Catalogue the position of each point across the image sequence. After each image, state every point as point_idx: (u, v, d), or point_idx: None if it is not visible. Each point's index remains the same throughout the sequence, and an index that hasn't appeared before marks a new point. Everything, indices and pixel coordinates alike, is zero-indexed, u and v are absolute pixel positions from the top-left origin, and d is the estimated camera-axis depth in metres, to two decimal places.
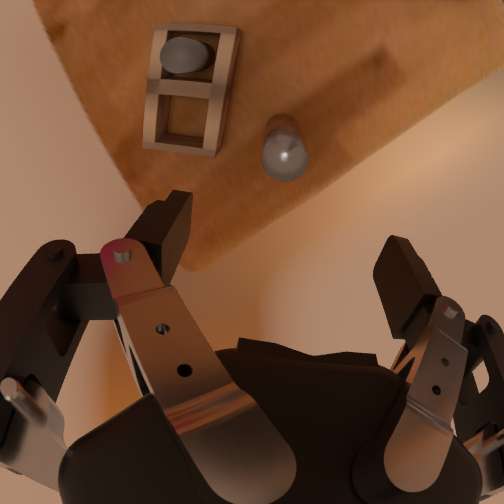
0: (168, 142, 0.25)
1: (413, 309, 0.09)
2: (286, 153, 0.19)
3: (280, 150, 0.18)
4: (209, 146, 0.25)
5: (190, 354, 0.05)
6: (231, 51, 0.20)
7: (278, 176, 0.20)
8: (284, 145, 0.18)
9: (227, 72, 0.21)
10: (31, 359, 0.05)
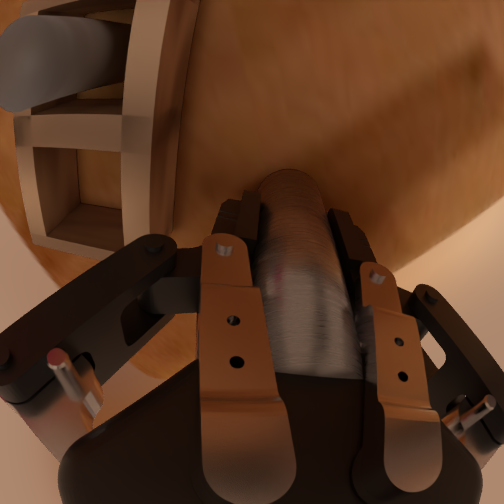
0: (69, 234, 0.12)
1: None
2: None
3: None
4: None
5: (248, 350, 0.05)
6: (162, 30, 0.07)
7: None
8: None
9: (154, 84, 0.08)
10: (92, 339, 0.05)
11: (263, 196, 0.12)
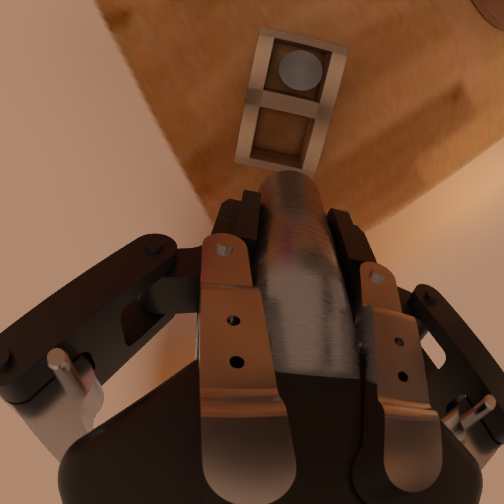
0: (263, 158, 0.25)
1: None
2: None
3: None
4: (309, 167, 0.25)
5: (248, 350, 0.05)
6: (341, 73, 0.20)
7: None
8: None
9: (336, 94, 0.21)
10: (92, 339, 0.05)
11: (263, 197, 0.12)
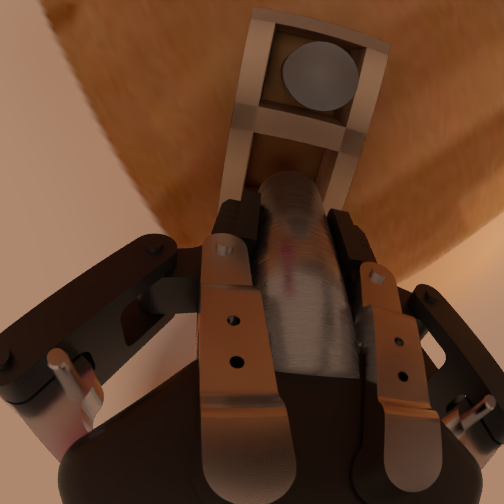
0: None
1: None
2: None
3: None
4: None
5: (248, 350, 0.05)
6: (380, 81, 0.12)
7: None
8: None
9: (371, 113, 0.13)
10: (92, 339, 0.05)
11: (263, 197, 0.12)
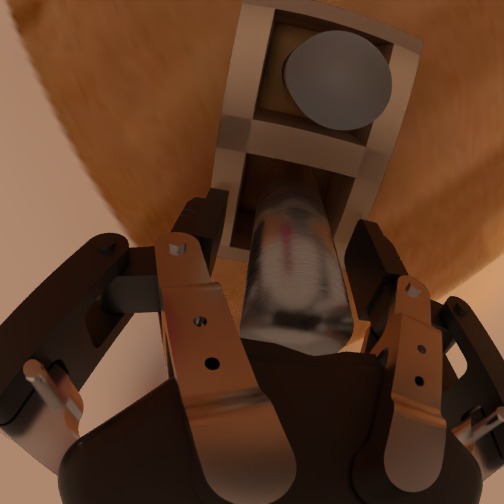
0: None
1: (376, 289, 0.09)
2: (302, 321, 0.07)
3: (286, 316, 0.07)
4: None
5: (221, 349, 0.05)
6: (410, 87, 0.09)
7: None
8: (297, 306, 0.07)
9: (397, 129, 0.10)
10: (62, 345, 0.05)
11: (265, 179, 0.14)
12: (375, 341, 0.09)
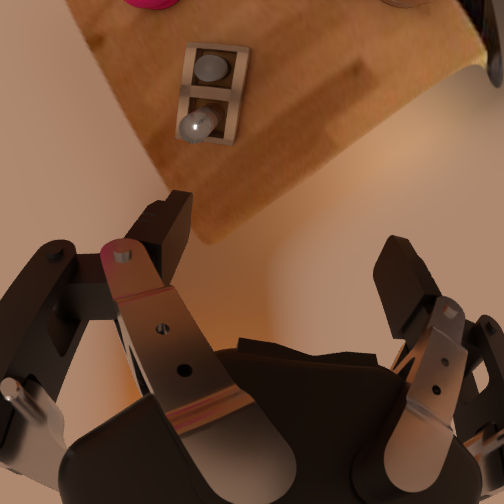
0: None
1: (413, 309, 0.09)
2: (194, 123, 0.26)
3: (189, 122, 0.26)
4: (228, 137, 0.33)
5: (190, 354, 0.05)
6: (245, 65, 0.28)
7: (190, 140, 0.27)
8: (192, 118, 0.26)
9: (242, 81, 0.29)
10: (31, 359, 0.05)
11: None
12: None
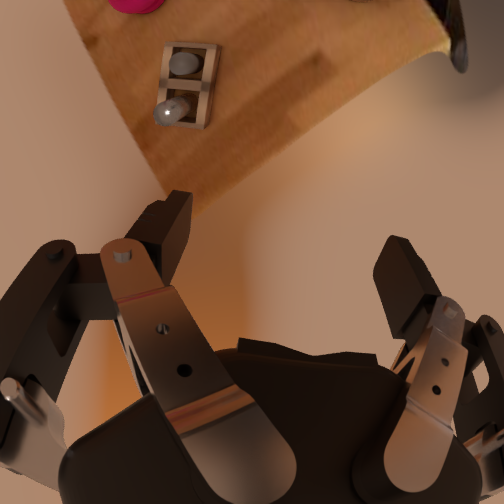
0: None
1: (413, 309, 0.09)
2: (165, 109, 0.30)
3: (162, 108, 0.30)
4: (200, 122, 0.37)
5: (190, 354, 0.05)
6: (213, 60, 0.32)
7: (162, 123, 0.31)
8: (164, 105, 0.30)
9: (211, 74, 0.33)
10: (31, 359, 0.05)
11: None
12: None
